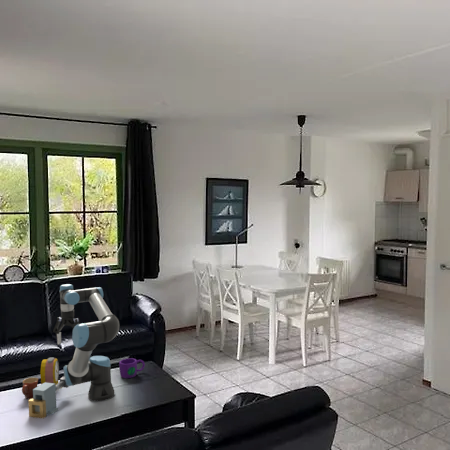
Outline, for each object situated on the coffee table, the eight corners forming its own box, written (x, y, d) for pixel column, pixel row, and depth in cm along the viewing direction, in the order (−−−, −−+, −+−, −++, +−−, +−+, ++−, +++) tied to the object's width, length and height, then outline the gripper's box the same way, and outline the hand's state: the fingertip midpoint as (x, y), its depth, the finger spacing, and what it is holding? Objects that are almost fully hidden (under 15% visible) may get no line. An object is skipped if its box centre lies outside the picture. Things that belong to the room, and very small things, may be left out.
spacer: (46, 416, 257) (45, 400, 256) (43, 418, 255) (42, 402, 254) (32, 414, 260) (31, 398, 259) (29, 416, 257) (28, 400, 257)
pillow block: (60, 408, 266) (59, 383, 266) (49, 416, 257) (47, 391, 256) (42, 406, 270) (40, 381, 269) (30, 414, 260) (29, 389, 259)
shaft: (71, 385, 282) (70, 377, 282) (48, 400, 262) (48, 391, 262) (64, 384, 284) (63, 376, 283) (41, 399, 263) (40, 390, 263)
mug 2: (123, 380, 304) (123, 365, 303) (117, 375, 313) (116, 360, 312) (148, 374, 314) (148, 359, 313) (141, 369, 323) (140, 354, 322)
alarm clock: (55, 391, 290) (54, 362, 288) (41, 392, 288) (39, 363, 287) (59, 381, 304) (58, 353, 303) (46, 383, 303) (45, 354, 302)
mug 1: (29, 393, 287) (28, 377, 287) (42, 394, 286) (41, 377, 285) (16, 402, 276) (15, 385, 275) (30, 403, 274) (29, 385, 273)
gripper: (89, 309, 286) (90, 344, 288) (53, 307, 293) (55, 341, 295) (82, 312, 279) (83, 348, 281) (45, 310, 286) (47, 345, 288)
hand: (69, 344), depth 288 cm, fingers open, 13 cm apart
